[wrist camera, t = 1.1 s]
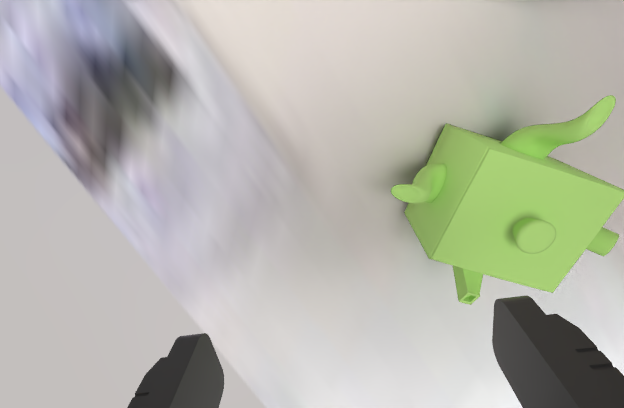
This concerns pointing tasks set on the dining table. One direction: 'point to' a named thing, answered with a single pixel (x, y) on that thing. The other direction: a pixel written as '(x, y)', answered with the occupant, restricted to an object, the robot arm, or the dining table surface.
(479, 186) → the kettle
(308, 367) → the dining table surface
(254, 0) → the dining table surface
